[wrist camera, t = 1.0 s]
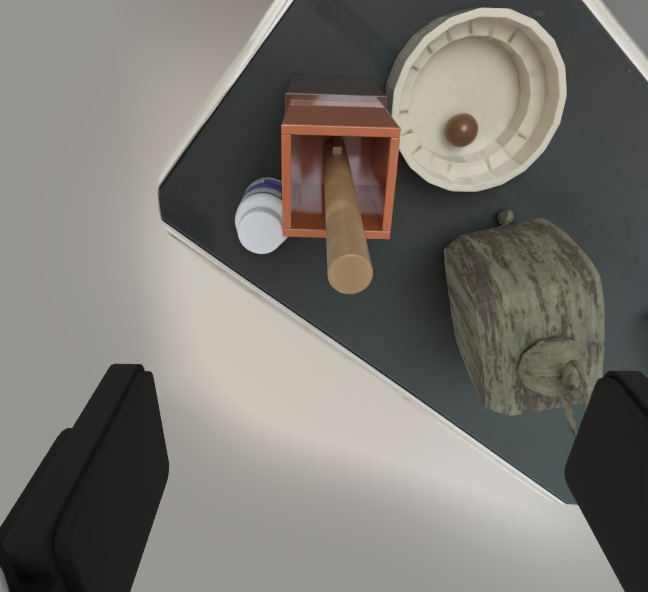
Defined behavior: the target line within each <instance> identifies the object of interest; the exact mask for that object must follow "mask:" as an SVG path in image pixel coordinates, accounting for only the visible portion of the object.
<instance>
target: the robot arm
mask: <svg viewBox="0 0 648 592" xmlns="http://www.w3.org/2000/svg"><path fill="white" fill-rule="evenodd" d="M168 474H169V461H168V455H167V449H166V444H165V439H164V433H163V427H162V422H161V417H160V411H159V405H158V400H157V394H156V389H155V383H154V377H153V374H152V372H150V371H145V370H144V368H143V366H142V365H141V364H113V365H111V366H110V367H109V369H108V370H107V372H106V374H105V375H104V377H103V379H102V380H101V382H100V383H99V386H98V387H97V388H96V390H95V392H94V393H93V395H92V397H91V398H90V400H89V402H88V403H87V405H86V406H85V408H84V410H83V411H82V413H81V415H80V416H79V418H78V419H77V421H76V423H75V424H74V426H73V428H67V429H65V430H63V431H62V432H61V433H60V435H59V436H58V437H57V438H56V440H55V442H54V443H53V445H52V446H51V448H50V449H49V451H48V453H47V454H46V456H45V457H44V459H43V461H42V462H41V464H40V465H39V467H38V468H37V470H36V472H35V473H34V475H33V476H32V478H31V480H30V481H29V483H28V484H27V486H26V487H25V489H24V491H23V492H22V494H21V495H20V497H19V498H18V500H17V502H16V503H15V505H14V507H13V508H12V509H11V511H10V513H9V514H8V516H7V517H6V519H5V521H4V522H3V524H2V525H1V527H0V592H130V591H131V588H132V585H133V582H134V578H135V576H136V573H137V570H138V567H139V564H140V561H141V558H142V555H143V552H144V549H145V546H146V542H147V540H148V536H149V534H150V531H151V528H152V525H153V521H154V519H155V515H156V513H157V509H158V507H159V504H160V501H161V498H162V494H163V492H164V489H165V486H166V483H167V479H168ZM565 479H566V483H567V485H568V487H569V489H570V491H571V492H572V494H573V496H574V498H575V500H576V502H577V504H578V506H579V507H580V509H581V511H582V513H583V515H584V517H585V519H586V520H587V522H588V524H589V526H590V528H591V530H592V531H593V533H594V535H595V537H596V539H597V541H598V543H599V545H600V546H601V548H602V550H603V552H604V554H605V556H606V558H607V560H608V561H609V563H610V565H611V567H612V569H613V571H614V573H615V574H616V576H617V578H618V580H619V582H620V584H621V586H622V587H623V589H624V591H625V592H648V378H647V377H646V376H645V375H644V374H642V373H641V372H638V371H609V372H607V373H606V374H605V375H604V377H603V378H599V379H598V380H597V382H596V384H595V386H594V389H593V392H592V395H591V397H590V400H589V403H588V406H587V408H586V411H585V414H584V417H583V419H582V422H581V425H580V427H579V430H578V433H577V436H576V438H575V441H574V444H573V447H572V449H571V452H570V455H569V457H568V460H567V463H566V466H565Z"/></svg>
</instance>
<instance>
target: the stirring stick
mask: <svg viewBox="0 0 648 592" xmlns="http://www.w3.org/2000/svg"><path fill="white" fill-rule="evenodd" d="M323 160H324V188H325V216H326V244H327V272H328V280H329V282H330V284H331V285H332V287H333V288H335V289H336V290H337V291H339V292H341V293H345V294H355V293H358V292H360V291H362V290H364V289H365V288H366V287H367V286H368V285H369V284H370V282H371V280H372V277H373V269H372V264H371V260H370V255H369V250H368V246H367V241H366V237H365V232H364V228H363V223H362V219H361V214H360V210H359V205H358V200H357V196H356V191H355V187H354V182H353V178H352V173H351V169H350V164H349V160H348V155H347V150H346V146H345V143H344V142H343V141H342V140H341V138H340V136H331V138H330V139H328V140H327V141H326V142H325V143H324V146H323Z"/></svg>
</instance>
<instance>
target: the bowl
mask: <svg viewBox="0 0 648 592" xmlns="http://www.w3.org/2000/svg"><path fill="white" fill-rule="evenodd" d="M385 95H386V96H387V105H386V110H387V111H388V112H389V114H390V115H391V116H392V117H393V119H394V120H395V121H396V123H397V124H398V125H399V126H400V128H401V134H400V137H399V138H400V144H399V151H400V152H401V154H402V156H403V157H404V159H405V160H406V162H407V164H408V165H409V167H410V168H411V169H412V170H414V171H415V172H416V173H417V174H418V175H420V176H421V177H422V178H423V179H424V180H426V181H427V182H428V183H430V184H433V185H436V186H439V187H441V188H444V189H447V190H450V191H465V192H477V191H481V190H485V189H488V188H492V187H495V186H499V185H502V184H504V183H506V182H507V181H509V180H510V179H512V178H514V177H515V176H517V175H519V174H520V173H522V172H524V171H525V170H526V169H527V168H528V167H529V166H530V165H531V164H532V163H533V162H534V161H535V160H536V159H537V158H538V157H539V156H540V155H541V154H542V153H543V152H544V151H545V149H546V147H547V146H548V144H549V142H550V140H551V139H552V137H553V135H554V133H555V131H556V130H557V128H558V126H559V124H560V121H561V117H562V113H563V109H564V105H565V101H566V97H567V96H566V95H567V93H566V74H565V65H564V63H563V60H562V58H561V55H560V53H559V50H558V48H557V45H556V43H555V41H554V39H553V38H552V37H551V36H550V35H549V34H548V33H547V32H546V31H545V30H544V29H543V28H542V27H541V25H540V24H539V23H538V22H537V21H535V20H534V19H532V18H529V17H527V16H525V15H523V14H520V13H518V12H516V11H514V10H511V9H504V8H473V9H463V10H459V11H456V12H453V13H450V14H447V15H444V16H441V17H438V18H436V19H434V20H433V21H432V22H430V23H429V24H427V25H426V26H425V27H423V28H422V29H421V30H419V31H418V32H416V33H415V34H414V35H413V36H412V37H411V39H410V40H409V41H408V43H407V44H406V45H405V47H404V48H403V49H402V50H401V52H400V53H399V54H398V56H397V58H396V59H395V62H394V64H393V67H392V70H391V72H390V75H389V77H388V80H387V84H386V91H385ZM458 113H468V114H470V115H472V116H473V117H474V118H475V119H476V121H477V123H478V128H479V129H478V134H477V137H476V138H475V140H474V141H473V142H472V143H471V144H469V145H467V146H465V147H455V146H453V145H451V144H450V143H449V142H448V141H447V139H446V137H445V126H446V124H447V122H448V120H449V119H450V118H451V117H452V116H454V115H456V114H458Z"/></svg>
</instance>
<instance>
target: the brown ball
mask: <svg viewBox="0 0 648 592" xmlns="http://www.w3.org/2000/svg"><path fill="white" fill-rule="evenodd" d="M478 129H479V128H478V123H477V121H476V119H475V118H474V117H473V116H472V115H470V114H468V113H458V114H456V115H454V116H452V117H451V118H450V119H449V120H448V122H447V124H446V126H445V137H446V139H447V141H448V142H449V143H450V144H451V145H453V146H455V147H465V146H467V145H469V144H471V143H472V142H473V141H474V140H475V138H476V137H477V134H478Z"/></svg>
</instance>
